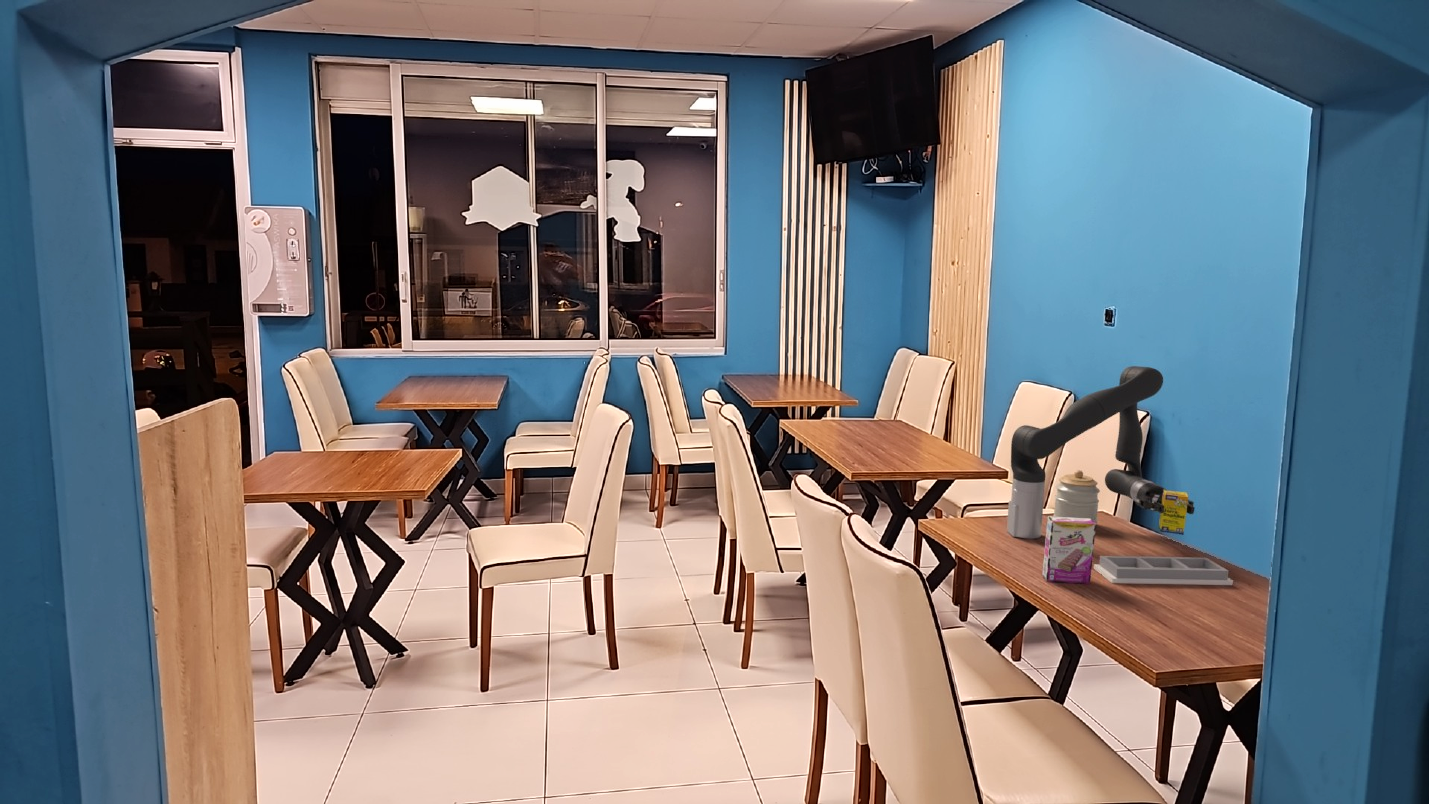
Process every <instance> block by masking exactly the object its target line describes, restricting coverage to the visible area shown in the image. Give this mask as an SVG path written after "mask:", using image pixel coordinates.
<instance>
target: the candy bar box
mask: <svg viewBox="0 0 1429 804" xmlns="http://www.w3.org/2000/svg"><path fill="white" fill-rule="evenodd" d="M1046 522H1047V523H1046V531H1045V539H1044V541H1045V542H1044V554H1043V562H1042V563H1043V564H1042V574H1041V576H1042V577H1043V578H1044V580H1045V581H1046V582H1052V583H1053V582H1055V583H1067V584H1068V583H1069V584H1091V579H1092V578H1091V577H1092V569H1093V568H1092V567H1093V560H1094V559H1093V558H1094V550H1095V549H1094V548H1095V539H1096V531H1097V530H1096V528H1097V524H1096V523H1095V522H1094V521H1092V520H1091V519H1089V518H1070V517H1054V515H1052V516H1051V515H1050V516H1047V518H1046Z"/></svg>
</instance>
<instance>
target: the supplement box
mask: <svg viewBox="0 0 1429 804" xmlns="http://www.w3.org/2000/svg"><path fill="white" fill-rule="evenodd" d="M1188 500H1189V495H1188V493H1187V492H1186V491H1176V490H1167V489H1166V490H1163V496H1162V505H1164V513H1160V514H1159V520H1158V521H1159V522H1158V529H1159V531H1160V533H1168V534H1176V535H1180V536H1183V535H1184V532H1185V527H1186V518H1187V504H1188Z"/></svg>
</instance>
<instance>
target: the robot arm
mask: <svg viewBox="0 0 1429 804" xmlns="http://www.w3.org/2000/svg"><path fill="white" fill-rule="evenodd" d="M1163 384H1164V376H1163V374H1162V373H1161V371H1159V370H1158V369H1156V368H1154V367H1149V366H1137V365H1136V366H1135V365H1132V366H1128V367H1126V368H1125V369H1124V370H1123V371H1122V372H1121V374H1120V377H1119V384H1118V385H1117V386H1114V387H1109V388H1105V389H1101V390H1097V391H1095V392H1092V393H1088V394H1087V395H1085V396H1083V397H1081V398H1079V399H1078V400H1076V401H1075V402H1073V403H1071V404H1070V405H1069V407H1067V409H1066V411H1065V413H1064V414H1063V416H1062V417H1061V419H1059V420H1058V421H1056V422H1055V423H1052V424H1050V425H1049V426H1046V427H1042V428H1040V427H1036V426H1032V425H1026V424H1025V425H1020V426H1019V427H1018V428H1016V430H1015V431H1014V432H1013V434H1012V438H1011V446H1010V447H1011V448H1010V467H1011V472H1012V484H1011V485H1012V486H1011V500H1009V501H1008V507H1007V508H1008V509H1007V510H1008V511H1007V524H1006V532H1007V533H1008V534H1009V535H1010V536H1012V537H1014V538H1015V537H1016V538H1021V539H1022V538H1023V539H1038V538H1041V536H1042V528H1043V527H1042V526H1043V525H1042V524H1043V513H1044V512H1043V511H1044V501H1045V498H1044V497H1045V487H1046V470H1044V469H1043V467H1041V465H1040V463H1039V460H1042V459H1045V458H1048V457H1049V456H1050V455H1052V454H1053V453H1055V452H1056V451H1057V450H1058V449H1061V448H1062V447H1063V446H1064V445H1065V444H1067V443H1068V442H1070V441H1071V440H1074V439H1075V438H1077V437H1079V436H1081V435H1082V434H1084V433H1085V432H1087V431H1089V430H1090V429H1092V428H1094V427H1095V428H1096V426H1098V425H1100V424H1102V423H1103V422H1105V421H1106V420H1108V419H1110V418H1112V417H1113V416H1115V415H1118V414H1119V427H1118V428H1119V429H1118V436H1117V443H1116V448H1115V455H1114V456H1115V457H1114V458H1115V460H1117V461H1118V462H1121V463H1124V464H1126V466H1127V470H1126V469H1119V468H1115V469H1110V470H1109V471H1108V472H1107V473H1106V475H1105V477H1104V483H1105V486H1106V488H1107V489H1108V490H1109V491H1111V492H1113V493H1115V494H1118V495H1120V496H1125V497H1128V498H1130V499H1131V500H1132V501H1134V502H1135V505H1137V506H1138V507H1140V508H1142V509H1144V510H1149V511H1151V512H1158V513H1164V505H1162V496H1163V490H1167V489H1166V488H1165V487H1163V486H1161V485H1159V484H1157V483H1154V482H1153V481H1151V480H1147V479H1145V478H1143V475H1142V467H1141V455H1142V453H1141V452H1142V447H1143V441H1144V440H1143V438H1144V437H1143V430H1142V426H1141V423H1140V419H1139V415H1138V403H1140V402H1142V401H1144V400H1147V399H1149V398H1152V397H1154V396H1155V395H1156V394H1157V393H1159V392H1160V391H1161V389H1162V387H1163ZM1194 503H1195V502H1194V501H1192V500H1190V499H1188V504H1187V512H1186V514H1189V515H1194V513H1195V506H1194Z"/></svg>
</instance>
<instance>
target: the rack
mask: <svg viewBox="0 0 1429 804" xmlns="http://www.w3.org/2000/svg"><path fill="white" fill-rule="evenodd" d="M1093 569H1094V570H1095V571H1096V572H1098V573H1099V574H1100V575H1101V574H1102V575H1101V576H1103V577H1104V578H1105V579H1106V580H1108V581H1109V582H1110V584H1111V583H1112V584H1141V585H1143V584H1147V585H1149V584H1151V585H1155V584H1156V585H1204V586H1205V585H1206V586H1207V585H1210V586H1213V585H1214V586H1215V585H1216V586H1233V583H1234V580H1233V579H1232V578H1230V577H1229V569H1226V568H1225V567H1224V566H1221V565H1219V564H1218V563H1216V562H1215V561H1213V560H1211V559H1210V558H1208V557H1193V556H1192V557H1190V556H1189V557H1184V556H1183V557H1178V556H1177V557H1176V556H1175V557H1173V556H1130V555H1129V556H1128V555H1127V556H1124V555H1123V556H1120V555H1119V556H1118V555H1100V556H1099V563H1097V564H1095V563H1094V564H1093Z"/></svg>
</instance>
